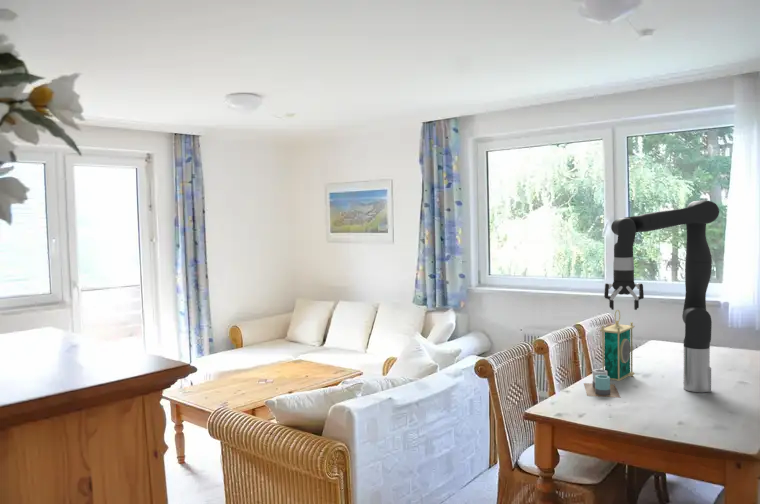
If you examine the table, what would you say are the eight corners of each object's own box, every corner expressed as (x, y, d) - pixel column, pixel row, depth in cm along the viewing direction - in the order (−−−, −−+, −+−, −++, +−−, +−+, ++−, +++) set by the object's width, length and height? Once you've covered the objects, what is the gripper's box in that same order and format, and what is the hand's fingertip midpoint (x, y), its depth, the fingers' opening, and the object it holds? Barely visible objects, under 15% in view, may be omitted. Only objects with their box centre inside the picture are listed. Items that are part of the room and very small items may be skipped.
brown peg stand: (614, 388, 243) (614, 372, 242) (620, 401, 225) (620, 384, 225) (583, 386, 246) (583, 371, 245) (587, 399, 228) (587, 383, 228)
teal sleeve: (609, 391, 233) (609, 375, 233) (610, 395, 228) (610, 378, 227) (594, 390, 234) (594, 374, 234) (595, 394, 229) (595, 378, 229)
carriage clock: (620, 384, 247) (620, 313, 246) (599, 381, 253) (599, 311, 252) (635, 376, 260) (635, 308, 258) (614, 373, 266) (614, 306, 264)
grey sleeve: (603, 384, 243) (602, 368, 242) (609, 388, 238) (609, 372, 237) (590, 385, 242) (590, 369, 242) (597, 389, 237) (597, 373, 236)
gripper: (641, 267, 236) (641, 308, 237) (603, 268, 240) (603, 307, 241) (644, 269, 229) (645, 311, 230) (605, 269, 233) (605, 310, 234)
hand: (623, 309), depth 235 cm, fingers open, 8 cm apart
